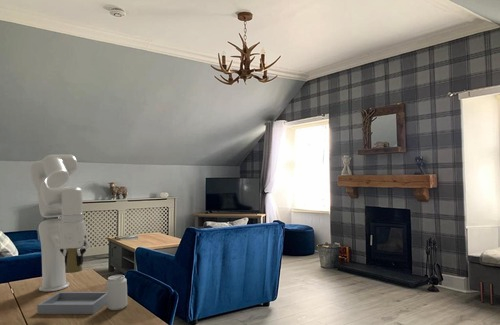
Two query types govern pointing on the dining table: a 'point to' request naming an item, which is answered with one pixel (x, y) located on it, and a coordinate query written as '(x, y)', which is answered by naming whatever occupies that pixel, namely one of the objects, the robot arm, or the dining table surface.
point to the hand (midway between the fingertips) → (74, 264)
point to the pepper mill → (72, 261)
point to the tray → (73, 303)
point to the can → (116, 292)
